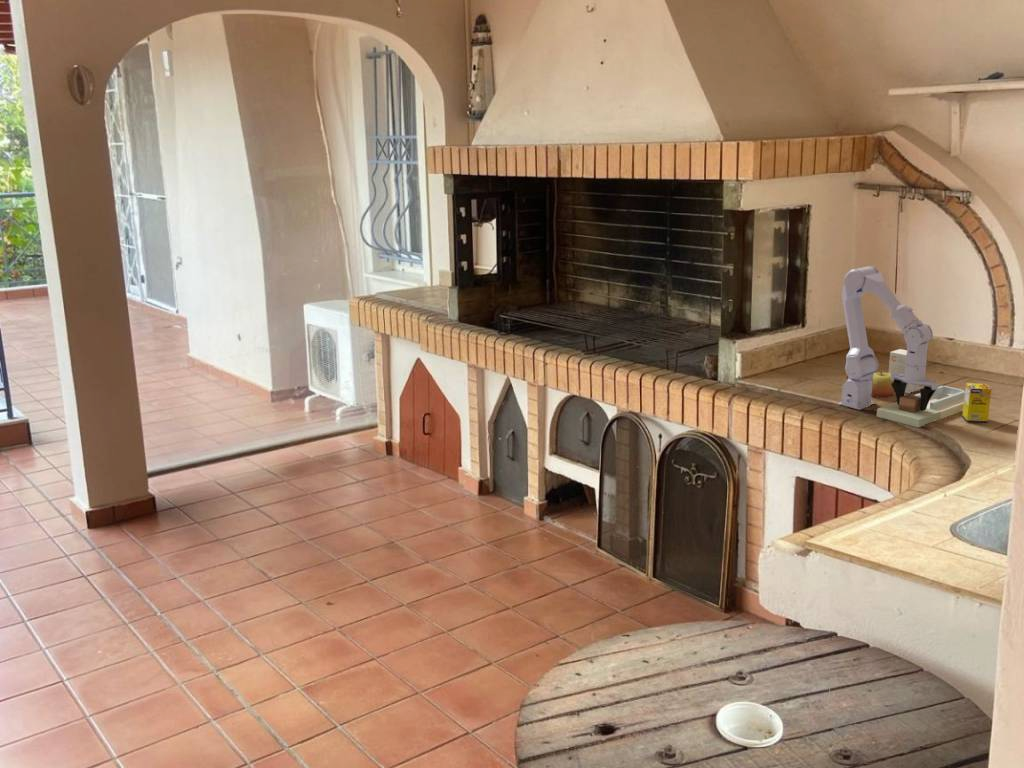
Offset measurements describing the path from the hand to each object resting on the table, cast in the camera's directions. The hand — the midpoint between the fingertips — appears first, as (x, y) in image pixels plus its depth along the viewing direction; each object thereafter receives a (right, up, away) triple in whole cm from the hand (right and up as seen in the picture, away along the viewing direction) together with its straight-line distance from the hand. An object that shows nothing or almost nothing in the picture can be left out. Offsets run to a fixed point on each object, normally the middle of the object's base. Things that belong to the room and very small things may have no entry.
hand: (911, 407), depth 297 cm
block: (0, -1, 0) cm, 1 cm away
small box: (+9, +5, +29) cm, 31 cm away
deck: (+7, -1, +6) cm, 9 cm away
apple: (0, +3, +23) cm, 24 cm away
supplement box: (+18, -4, -3) cm, 19 cm away
